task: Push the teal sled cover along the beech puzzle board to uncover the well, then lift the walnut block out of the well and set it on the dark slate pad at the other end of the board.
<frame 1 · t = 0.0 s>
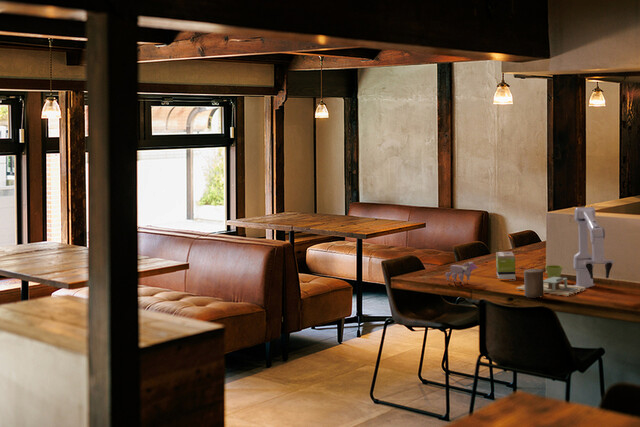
hand: (599, 278, 404), 11 cm above the table, tool pointing down, fingers open, 7 cm apart
pillar candle: (533, 296, 418), on the table
toy sheep: (463, 285, 454), on the table
plant pot: (554, 282, 452), on the table
walnut block: (553, 291, 427), resting in puzzle board
puzzle board: (550, 289, 431), on the table
slate pad: (568, 292, 422), resting on puzzle board
tea box: (505, 278, 468), on the table
sled cover: (553, 282, 427), point 5 cm above the table, slide at 0.0 cm
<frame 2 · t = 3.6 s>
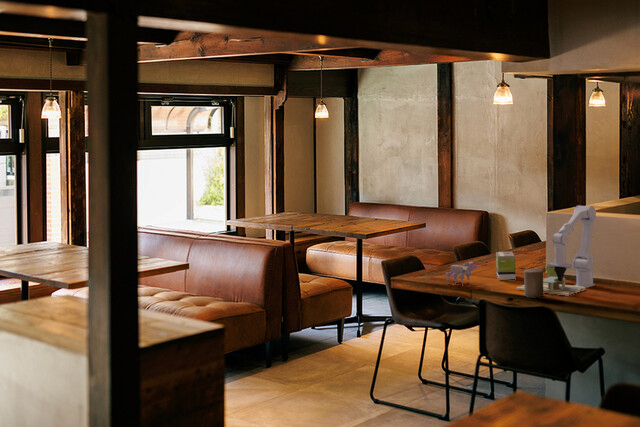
hand: (560, 280, 424), 6 cm above the table, tool pointing down, fingers closed
sled cover: (551, 282, 428), point 5 cm above the table, slide at 1.2 cm, touching gripper
everything else where it was.
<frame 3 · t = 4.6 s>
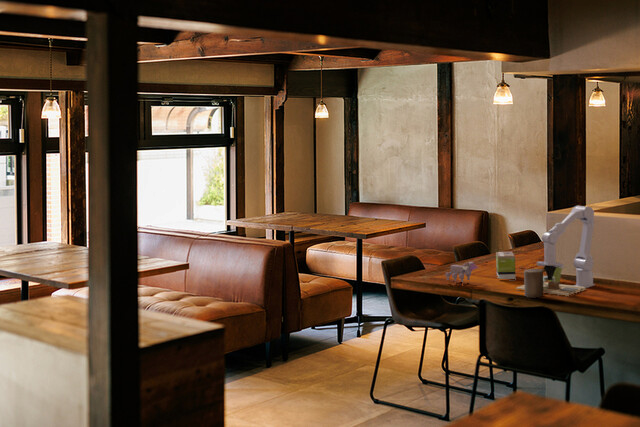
hand: (550, 279, 428), 6 cm above the table, tool pointing down, fingers closed
sled cover: (541, 281, 432), point 5 cm above the table, slide at 7.1 cm, touching gripper
everything else where it was.
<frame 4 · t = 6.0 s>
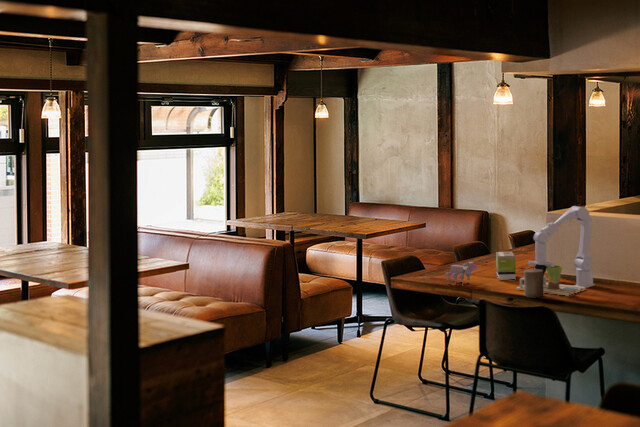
hand: (541, 278, 432), 6 cm above the table, tool pointing down, fingers closed
sled cover: (532, 280, 435), point 5 cm above the table, slide at 12.4 cm, touching gripper
everything else where it was.
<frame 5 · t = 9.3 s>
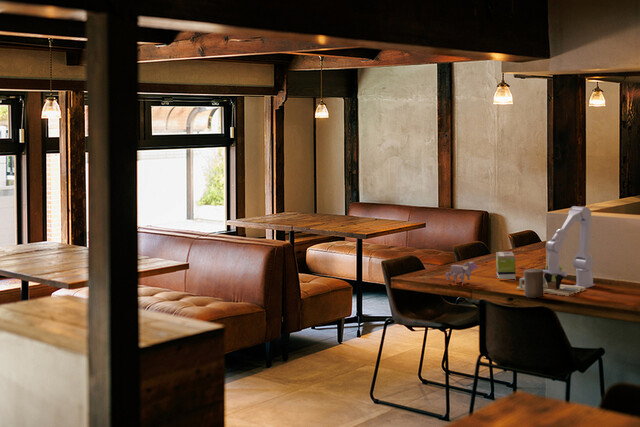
hand: (553, 288, 427), 2 cm above the table, tool pointing down, fingers closed on walnut block, 4 cm apart
walnut block: (553, 291, 427), resting in puzzle board, touching gripper
sled cover: (532, 280, 435), point 5 cm above the table, slide at 12.5 cm
everything else where it was.
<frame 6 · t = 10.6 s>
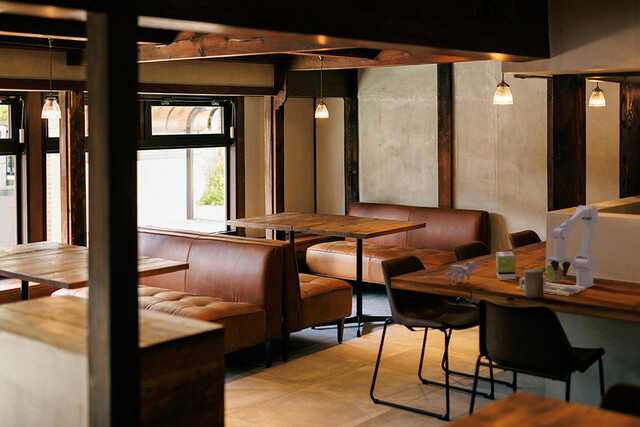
hand: (560, 275, 424), 9 cm above the table, tool pointing down, fingers closed on walnut block, 4 cm apart
walnut block: (560, 279, 424), point 7 cm above the table, touching gripper
everything else where it was.
when the fingers open (4 cm above the table, at t = 12.2 s): walnut block stays where it is, resting on slate pad.
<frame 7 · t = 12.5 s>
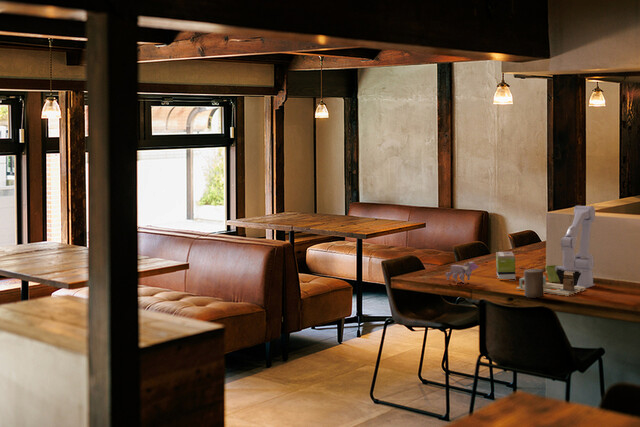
hand: (568, 284, 422), 4 cm above the table, tool pointing down, fingers open, 7 cm apart
walnut block: (568, 289, 422), point 2 cm above the table, touching slate pad
everything else where it was.
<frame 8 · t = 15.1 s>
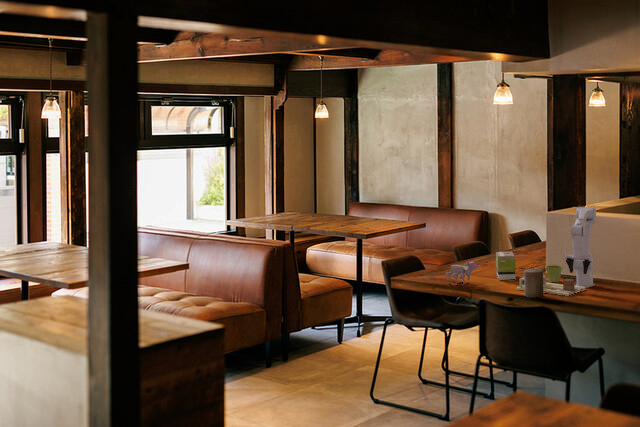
hand: (578, 273, 423), 10 cm above the table, tool pointing down, fingers open, 7 cm apart
nothing on the table moved.
at the end: sled cover slide at 12.5 cm; walnut block inside the target area on the slate pad (0.0 cm from its centre), point 1.8 cm above the slate pad's base; walnut block tilted 0° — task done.
